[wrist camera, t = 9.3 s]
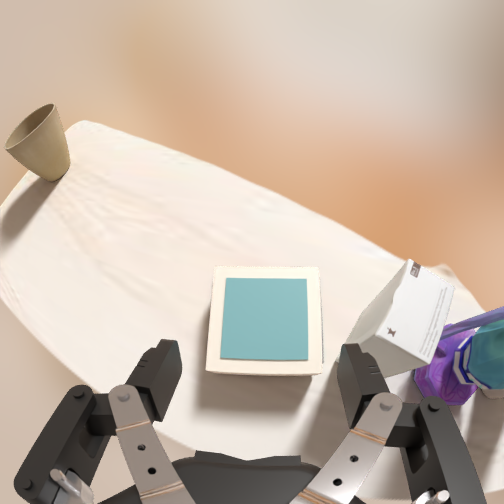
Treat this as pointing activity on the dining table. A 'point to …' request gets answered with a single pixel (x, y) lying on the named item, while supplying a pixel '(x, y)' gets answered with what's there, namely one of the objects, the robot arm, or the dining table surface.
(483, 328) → the lantern
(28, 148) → the plant pot
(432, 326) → the skincare box
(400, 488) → the dining table surface
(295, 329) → the block
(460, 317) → the dining table surface
